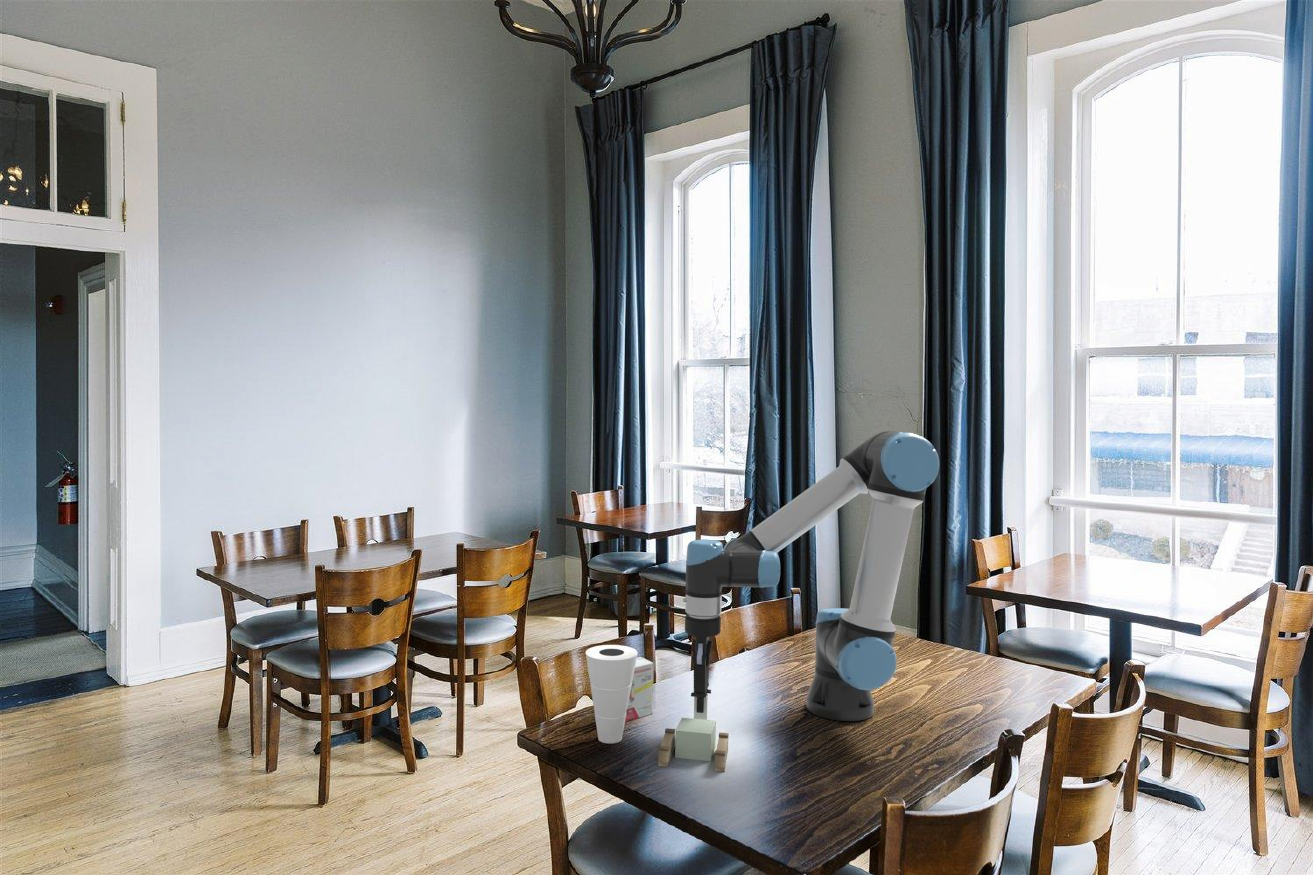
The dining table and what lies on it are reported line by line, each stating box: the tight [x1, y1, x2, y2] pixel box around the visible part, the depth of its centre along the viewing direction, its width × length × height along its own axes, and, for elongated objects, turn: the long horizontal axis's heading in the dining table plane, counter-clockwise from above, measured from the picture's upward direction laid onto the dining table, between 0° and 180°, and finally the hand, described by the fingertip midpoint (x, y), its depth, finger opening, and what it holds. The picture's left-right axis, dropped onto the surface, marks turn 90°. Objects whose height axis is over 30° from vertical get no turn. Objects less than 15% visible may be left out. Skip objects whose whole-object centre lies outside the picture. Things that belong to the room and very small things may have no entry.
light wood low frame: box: [657, 727, 729, 773], centre depth 164 cm, size 13×10×4 cm
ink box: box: [625, 656, 655, 723], centre depth 186 cm, size 9×5×12 cm, turn 130°
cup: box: [585, 644, 639, 745], centre depth 173 cm, size 11×11×18 cm
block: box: [674, 717, 717, 762], centre depth 167 cm, size 7×7×6 cm
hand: (700, 725), depth 177 cm, fingers closed
